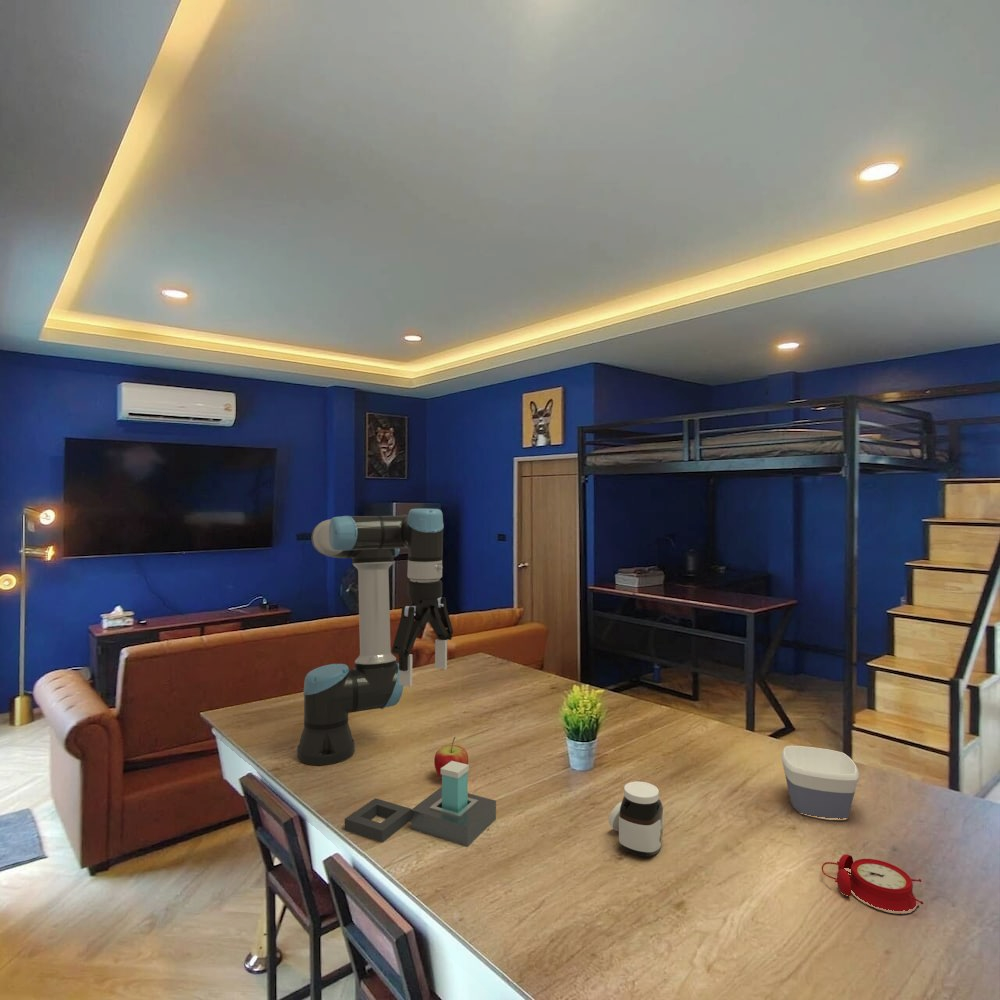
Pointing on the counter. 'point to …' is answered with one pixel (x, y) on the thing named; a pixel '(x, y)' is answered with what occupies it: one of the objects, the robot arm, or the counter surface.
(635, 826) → the spread jar
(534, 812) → the counter surface
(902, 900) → the alarm clock
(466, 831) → the port
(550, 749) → the counter surface
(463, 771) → the plug
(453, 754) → the apple
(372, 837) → the dark grey square frame
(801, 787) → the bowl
